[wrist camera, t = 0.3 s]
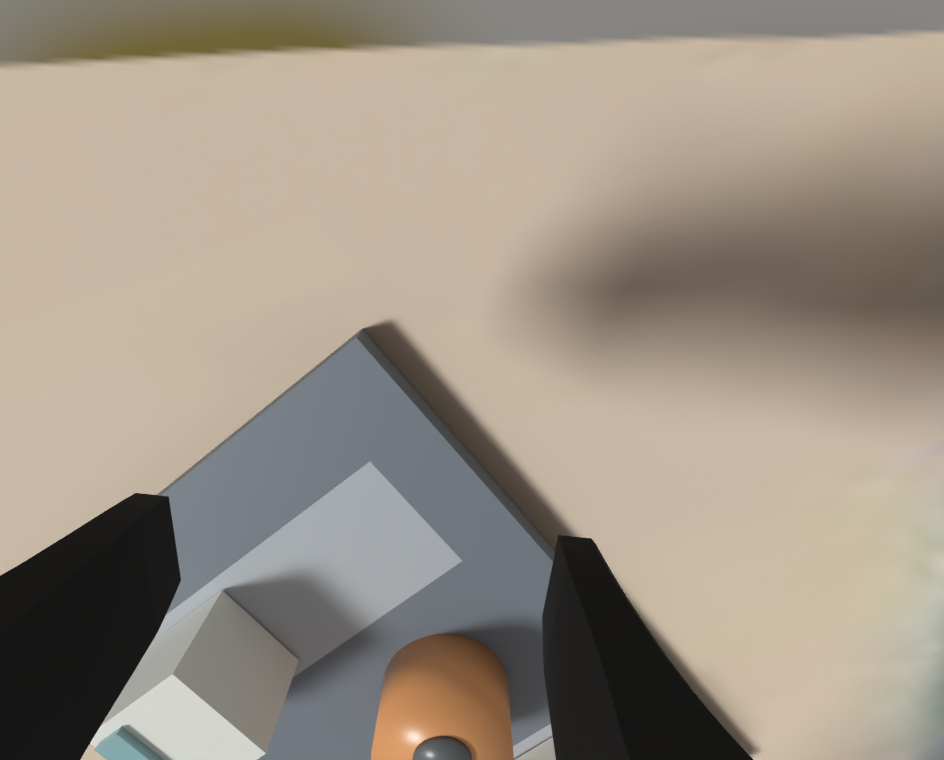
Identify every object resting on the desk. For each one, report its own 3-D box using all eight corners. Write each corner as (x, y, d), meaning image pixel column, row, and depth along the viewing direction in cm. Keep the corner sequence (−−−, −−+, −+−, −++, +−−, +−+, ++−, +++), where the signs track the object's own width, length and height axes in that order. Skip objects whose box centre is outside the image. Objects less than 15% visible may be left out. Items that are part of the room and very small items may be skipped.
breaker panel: (412, 933, 30) (409, 979, 29) (15, 609, 24) (-19, 642, 23) (734, 756, 27) (752, 795, 25) (362, 328, 21) (353, 342, 19)
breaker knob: (223, 712, 24) (174, 820, 20) (146, 646, 23) (78, 746, 19) (298, 660, 24) (263, 762, 19) (222, 590, 23) (167, 681, 18)
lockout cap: (437, 752, 25) (432, 837, 22) (357, 677, 24) (340, 755, 21) (532, 692, 24) (542, 772, 21) (455, 612, 23) (452, 683, 20)
